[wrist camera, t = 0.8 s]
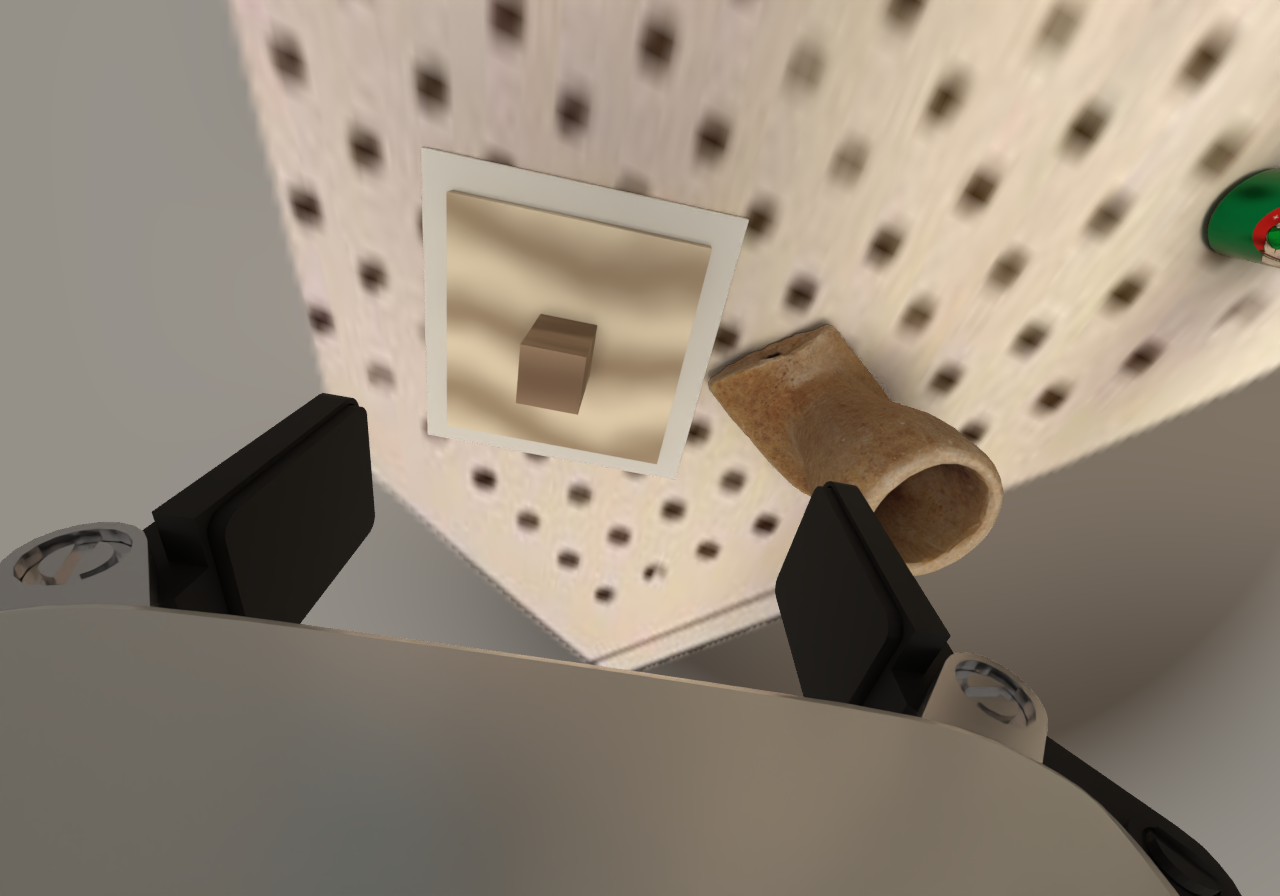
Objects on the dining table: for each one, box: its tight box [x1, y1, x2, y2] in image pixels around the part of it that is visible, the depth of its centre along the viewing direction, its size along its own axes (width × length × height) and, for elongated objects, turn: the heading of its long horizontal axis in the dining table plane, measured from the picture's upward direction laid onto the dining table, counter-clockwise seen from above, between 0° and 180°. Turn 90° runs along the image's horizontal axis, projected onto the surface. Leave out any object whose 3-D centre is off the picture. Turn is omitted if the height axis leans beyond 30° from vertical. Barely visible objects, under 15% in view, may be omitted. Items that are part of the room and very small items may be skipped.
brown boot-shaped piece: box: [708, 325, 1004, 576], centre depth 34 cm, size 15×12×15 cm
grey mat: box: [421, 147, 749, 480], centre depth 39 cm, size 21×21×1 cm
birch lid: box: [446, 190, 712, 464], centre depth 35 cm, size 17×17×7 cm
